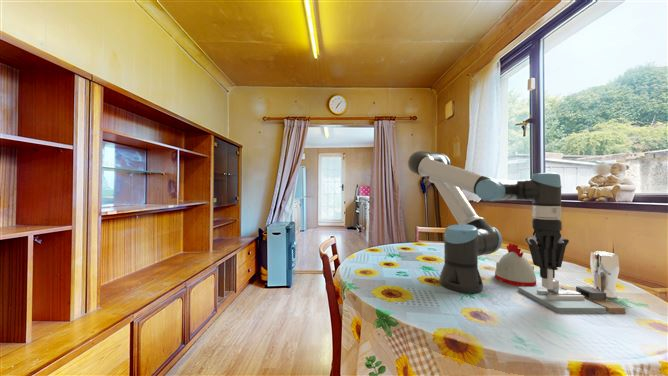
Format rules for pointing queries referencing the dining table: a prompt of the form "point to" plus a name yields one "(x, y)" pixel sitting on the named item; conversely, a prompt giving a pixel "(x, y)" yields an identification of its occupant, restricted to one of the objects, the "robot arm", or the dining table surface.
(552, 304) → the door lock board
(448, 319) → the dining table surface
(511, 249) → the kitchen timer
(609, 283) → the beer glass
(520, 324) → the dining table surface
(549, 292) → the steel bolt
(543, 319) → the dining table surface
